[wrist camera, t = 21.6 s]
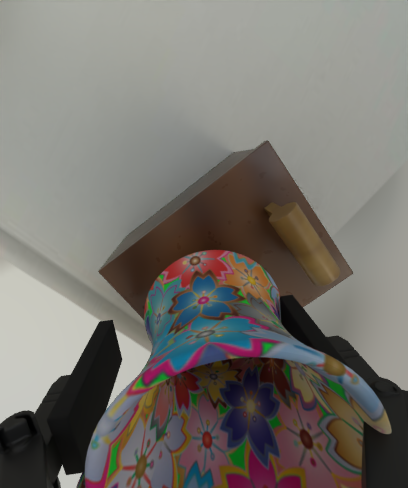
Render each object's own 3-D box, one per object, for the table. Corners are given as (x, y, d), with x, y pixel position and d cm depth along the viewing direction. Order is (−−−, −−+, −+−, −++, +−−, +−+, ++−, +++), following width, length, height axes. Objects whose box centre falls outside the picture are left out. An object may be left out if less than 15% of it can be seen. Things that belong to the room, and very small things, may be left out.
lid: (264, 140, 19) (291, 134, 14) (348, 269, 22) (393, 299, 17) (101, 267, 21) (75, 299, 16) (198, 371, 24) (201, 424, 19)
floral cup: (235, 209, 17) (309, 280, 7) (307, 323, 20) (440, 500, 9) (75, 314, 18) (-64, 505, 8) (161, 408, 21) (137, 648, 11)
